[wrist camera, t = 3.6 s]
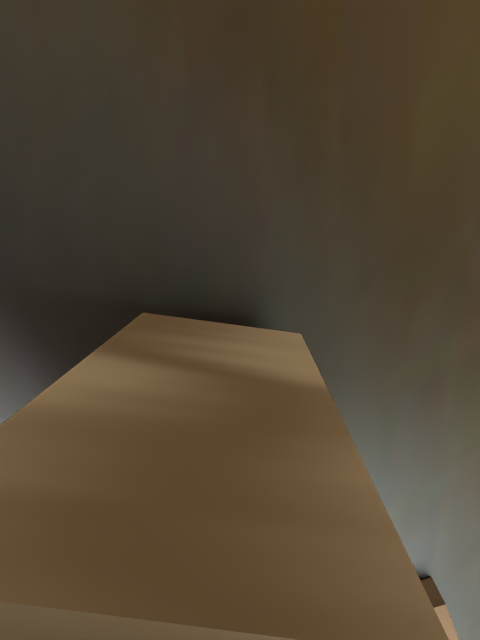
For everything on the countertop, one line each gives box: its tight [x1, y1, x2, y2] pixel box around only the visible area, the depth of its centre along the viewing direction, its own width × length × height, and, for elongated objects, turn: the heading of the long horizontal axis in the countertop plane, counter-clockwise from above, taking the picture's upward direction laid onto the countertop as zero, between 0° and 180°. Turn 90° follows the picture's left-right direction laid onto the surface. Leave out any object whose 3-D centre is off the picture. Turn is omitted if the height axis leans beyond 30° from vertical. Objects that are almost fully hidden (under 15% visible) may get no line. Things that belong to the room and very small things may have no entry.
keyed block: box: [0, 313, 449, 640], centre depth 7 cm, size 4×6×8 cm, turn 173°
